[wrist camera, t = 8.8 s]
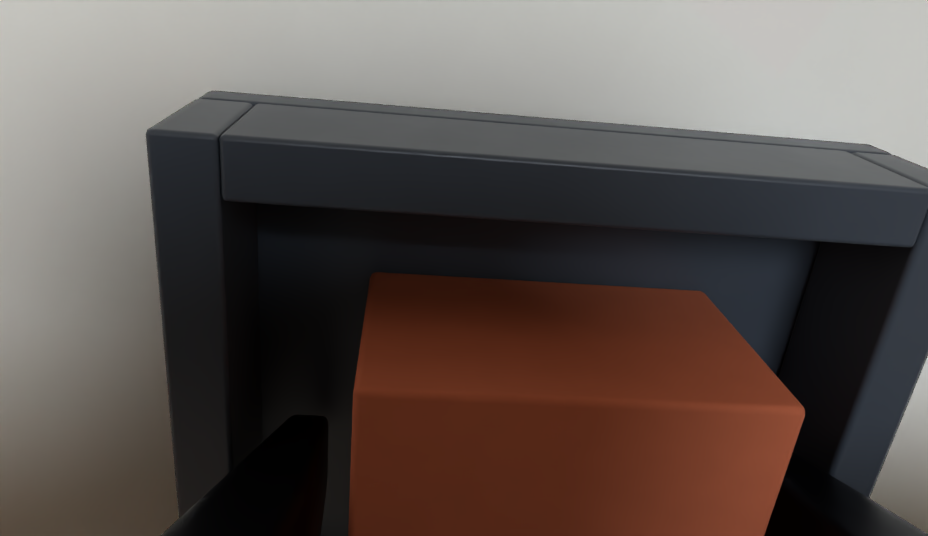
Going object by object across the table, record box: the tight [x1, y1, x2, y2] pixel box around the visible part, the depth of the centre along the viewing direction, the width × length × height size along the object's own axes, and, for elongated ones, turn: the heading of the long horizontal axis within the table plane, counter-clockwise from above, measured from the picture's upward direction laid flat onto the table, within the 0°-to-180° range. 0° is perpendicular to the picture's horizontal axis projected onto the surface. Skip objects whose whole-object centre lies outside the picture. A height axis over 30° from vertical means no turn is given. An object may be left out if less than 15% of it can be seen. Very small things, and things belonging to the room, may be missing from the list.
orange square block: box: [348, 272, 805, 536], centre depth 8 cm, size 4×4×2 cm
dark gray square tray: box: [146, 91, 928, 536], centre depth 9 cm, size 8×8×2 cm
